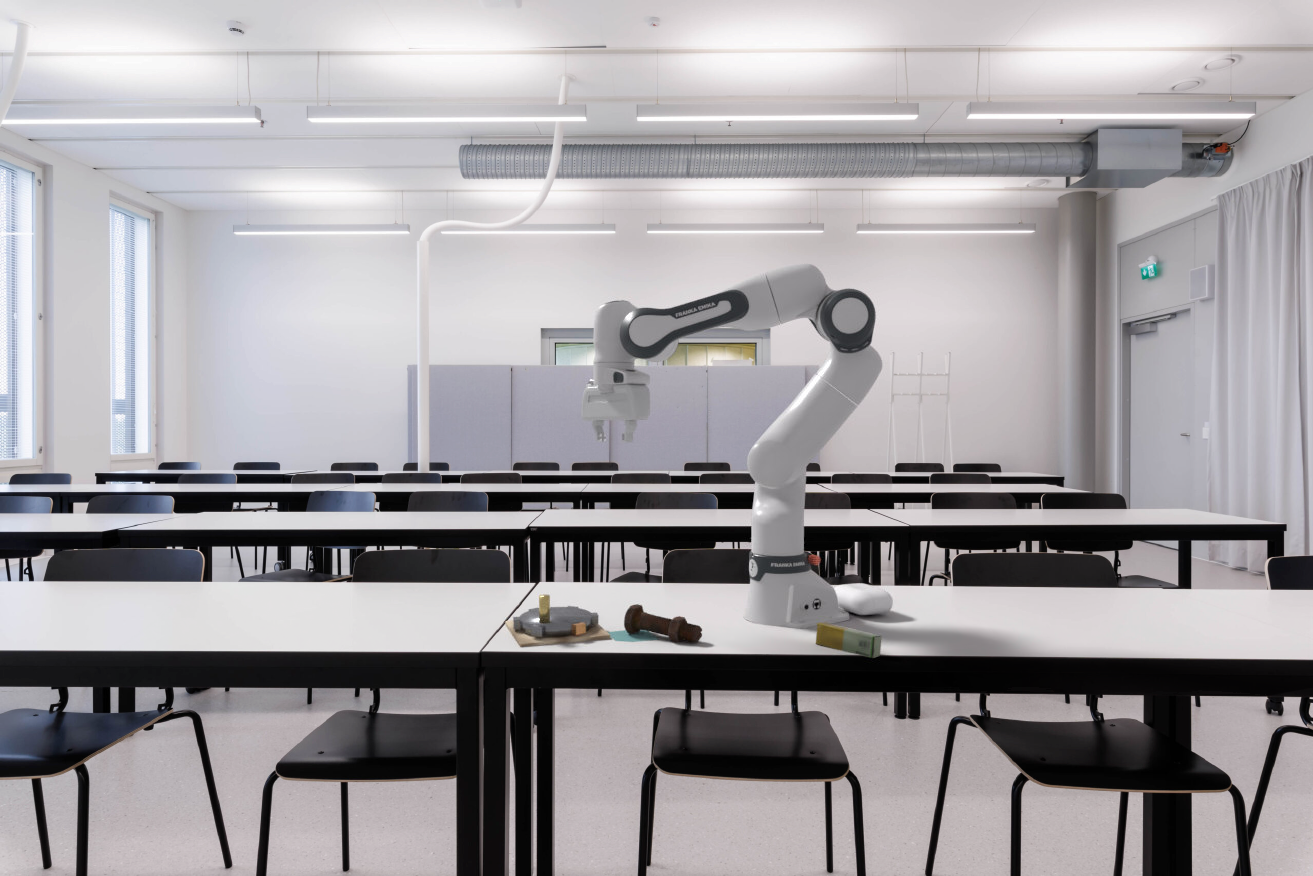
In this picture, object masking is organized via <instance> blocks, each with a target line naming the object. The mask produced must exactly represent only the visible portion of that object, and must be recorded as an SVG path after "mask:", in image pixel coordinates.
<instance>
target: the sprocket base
mask: <svg viewBox="0 0 1313 876" xmlns="http://www.w3.org/2000/svg"><path fill="white" fill-rule="evenodd" d="M504 624H505V627H506V628H507V630H508V631H509V633H510V634H511V636H512V637H513V639H514V640H515V642H516V643H517V645H518V646H519V648H524V646H526V647H535V645H537V646H546V645H545V644H548V645H558V644H571V643H579V642H589V641H600V640H611V637H610V634H609V633H608V632H609V631H607V630H605V628H603V626H601V625H600V624H599V623H598V624H596V625H592V626H591V628H589V629H588V630H586V633H583V634H579V635H574V634H570V635H561V636H543V637H535V636H531V634H528V633H525V632H523V631H522V630H521V629H514V628H513V619H512V620H505V623H504Z"/></svg>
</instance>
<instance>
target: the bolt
mask: <svg viewBox="0 0 1313 876" xmlns="http://www.w3.org/2000/svg"><path fill="white" fill-rule="evenodd" d="M623 626H624V630H626V631H627V633H630V634H634V633H636V632H638V631H640V630H646V631H649V632H650V633H654V634H657V635H659V634H660V635H662V636H666V637H668V638H669V640H670V642H674V643H680V642H682V641H687V642H691V643H694V644H695V643H696V644H697V643H698V642H699V641H700V640H701V638H702V637H703V633H702V632H703V628H702V627H701V626H700V625H698V624H693V623H688V621H687V619H686V617H683V616H680V615H679V616H678V615H677V616H674V617H673V618H672V619H671V618H668V617H663V616H659V615H655V614H652V613H648V612H645V611H644V608H643V605H642V604H639V603H638V604H633V605H630V606H629V607H628V608H627V610H626V612H625V615H624V620H623Z"/></svg>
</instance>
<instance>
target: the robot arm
mask: <svg viewBox="0 0 1313 876" xmlns="http://www.w3.org/2000/svg"><path fill="white" fill-rule="evenodd" d="M594 315H595V316H594V323H593V341H592V342H593V347H594V359H593V365H592V366H593V368H592V369H593V370H592V374H593V375H592V376H593V377H592V378H593V379H589V380H588V382H587V383H586V385H585V387H584V390H583V393H582V397H581V398H582V399H581V400H582V401H581V411H580V412H581V413H580V414H581V415H580V416H581V418H582V420H583V421H587V422H588V421H591V423H592V424H591V425H592V429H593V430H594V433H595V441H596V442H598V443H599V442H602V443H603V442H606V441H607V433H605V431H604V428H603V427H604V425H605V421H624V426H625V431H624V433H622V434H621V441H622V443H633V440H634V433H635V430H636V428H637V426H638V425H637V421H646V420H648V418H649V416H650V413H651V392H650V388H649V387H648V385H649V384H650V383H651V376H650V375H649V374H648V373H645V372H643V371H641V370H638V369H636V368H635V361H636V360H639V359H640V360H645V361H648V362H651V363H660V362H664V361H666V360H668V359H670V358H671V357H672V356H673V355H674V354H675V353H676V351H677V349H678V347H679V346H678V345H679V340H680V339H683V338H686V337H690V336H693V335H695V334H701V333H703V332H705V331H710V330H713V329H718V328H730V329H737V330H742V331H745V332H746V331H747V332H753V331H759V330H760V331H761V330H767V329H770V328H774V327H776V326H777V327H778V326H780V325H783V324H786V323H788V322H791V321H792V322H793V321H794V320H795V321H796V320H799V319H808V320H809V321H810V323H811V324H812V326H813V327H814V329H815V330H816V332H817V333H818V334H819V336H821V338H823V339H824V340H825V341H827V342H829V343H830V351H829V354H828V356H827V358H826V359H825V361H824V362H823V364H822V365H821V366H820V367H819V369H817V371H816V372H815V373H814V374H813V376H812V377H811V378H810V380H809V381H808V382H807V383H806V385H804V386H803V388H802V389H801V390H800V392H799V393H798V394H797V395H796V397H795V398H794V399H793V400H792V402H791V403H790V404H789V405H788V406H787V407H786V408H785V409H784V410H783V411H782V412H781V413H780V415H779V416H778V417H776V419H775V420H774V421H773V422H772V423H771V425H770V426H769V427H768V428H767V429H766V430H765V431H764V433H762V435H761V436H760V437H759V438H758V439H757V440H756V442H755V443H754V444H753V445H752V447H751V449H750V450H749V452H748V455H747V459H746V464H747V466H746V467H747V470H748V473H749V475H750V477H751V479H753V481H754V490H753V491H754V493H753V502H752V510H751V519H750V520H751V526H750V527H751V537H750V539H751V546H750V547H751V550H750V551H749V555H748V557H749V559H748V564H749V565H748V571H749V587H748V588H749V591H748V595H747V601H746V607H745V610H744V614H743V618H744V620H746V621H749V622H751V623H752V624H753V623H754V624H758V625H763V626H771V627H774V626H775V627H783V628H784V627H786V628H790V629H791V628H792V629H805V628H811V627H817V623H823V622H826V623H830V624H836V623H841V622H844V621H850V620H851V619H850V612H849V611H847V610H844V609H842V608H840V607H839V605H838V598H837V594H836V591H835V589H834V588H835V587H833V585H831V584H830V583H829V582H827V580H825V579H823V577H821V576H820V575H818V574H817V573H816V572H815V571H813V570H812V567H811V565H815V566H819V565H820V563H821V560H822V559H821V557H820V556H819V555H815V554H808V553H807V552H805V551H804V549H805V547H804V544H805V541H804V537H805V506H806V505H805V502H806V484H807V466H808V465H809V464H810V463H811V462H812V461H813V460H814V458H815V457H816V456H817V455H818V454H819V453H820V452H821V451H822V449H823V448H824V447H825V446H826V445H827V444H828V443H829V441H830V440H831V439H832V438H833V437H834V436H835V435H836V433H837V432H838V431H839V430H840V428H841V427H842V426H843V425H844V424H845V422H846V421H847V420H848V419H849V417H850V416H851V415H852V414H853V413H854V411H855V410H856V409H857V408H858V406H860V404H861V403H863V401H864V399H865V397H867V395H868V394H869V392H870V391H871V389H872V388H873V386H874V384H875V383H876V381H877V379H878V378H879V375H880V374H881V372H882V370H883V360H882V357H881V355H880V354H879V352H878V350H876V349H875V348H874V347H873V346H872V345H871V344H872V341H873V336H874V335H873V334H874V329H875V324H876V318H877V317H876V316H877V315H876V308H875V305H874V302H873V301H872V300H871V298H870V297H869V296H868V295H867V294H866V293H865V292H863V291H861V290H859V289H855V288H842V289H838V290H834V289H832V288H830V287H829V285H828V284H827V281H826V277H825V276H824V274H823V272H822V271H821V270H820V269H819V268H818V267H817V266H815V265H814V264H812V263H801V264H800V263H799V264H794V265H789V266H785V267H780V268H777V269H774V270H770V271H767V272H763V273H761V274H758V275H755V276H753V277H751V278H748V279H745V280H744V281H741V282H740V283H737V284H735V285H733V286H731V287H728V288H726V289H724V290H722V291H719V292H718V293H715V294H712V295H709V296H706V297H702V298H699V299H696V300H693V301H689V302H685V303H682V304H680V305H676V306H673V307H668V308H655V307H640V308H639V307H637V306H635V305H634V304H633V303H632V302H630V301H629V300H628V301H627V300H613V301H608V302H605V303H603V304H602V305H600V306H599V307H598V308H597V309H596V312H595V314H594Z"/></svg>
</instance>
